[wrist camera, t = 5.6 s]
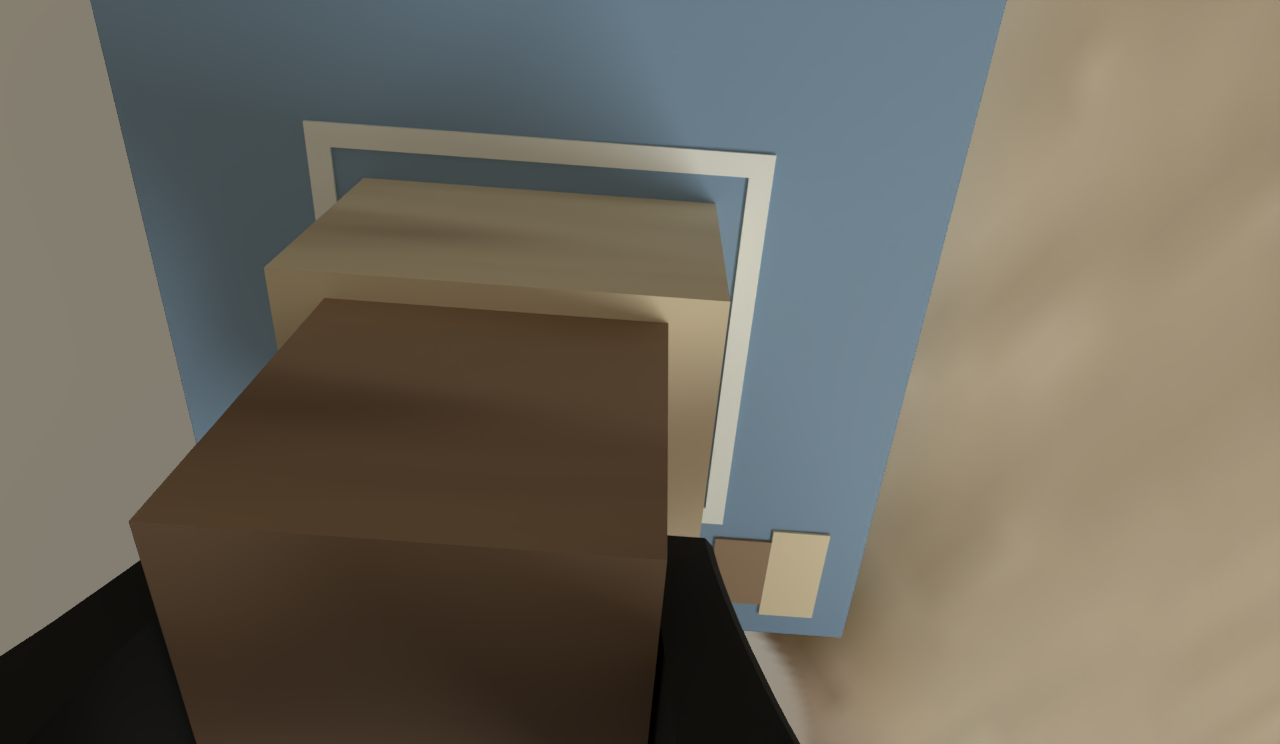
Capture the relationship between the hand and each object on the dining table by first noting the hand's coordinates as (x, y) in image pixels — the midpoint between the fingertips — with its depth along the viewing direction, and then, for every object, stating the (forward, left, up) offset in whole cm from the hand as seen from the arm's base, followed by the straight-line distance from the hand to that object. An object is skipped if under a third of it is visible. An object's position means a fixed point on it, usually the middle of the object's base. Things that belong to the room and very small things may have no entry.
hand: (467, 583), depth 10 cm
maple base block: (0, 0, -6) cm, 6 cm away
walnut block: (0, 0, -2) cm, 2 cm away
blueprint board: (0, 0, -7) cm, 7 cm away
